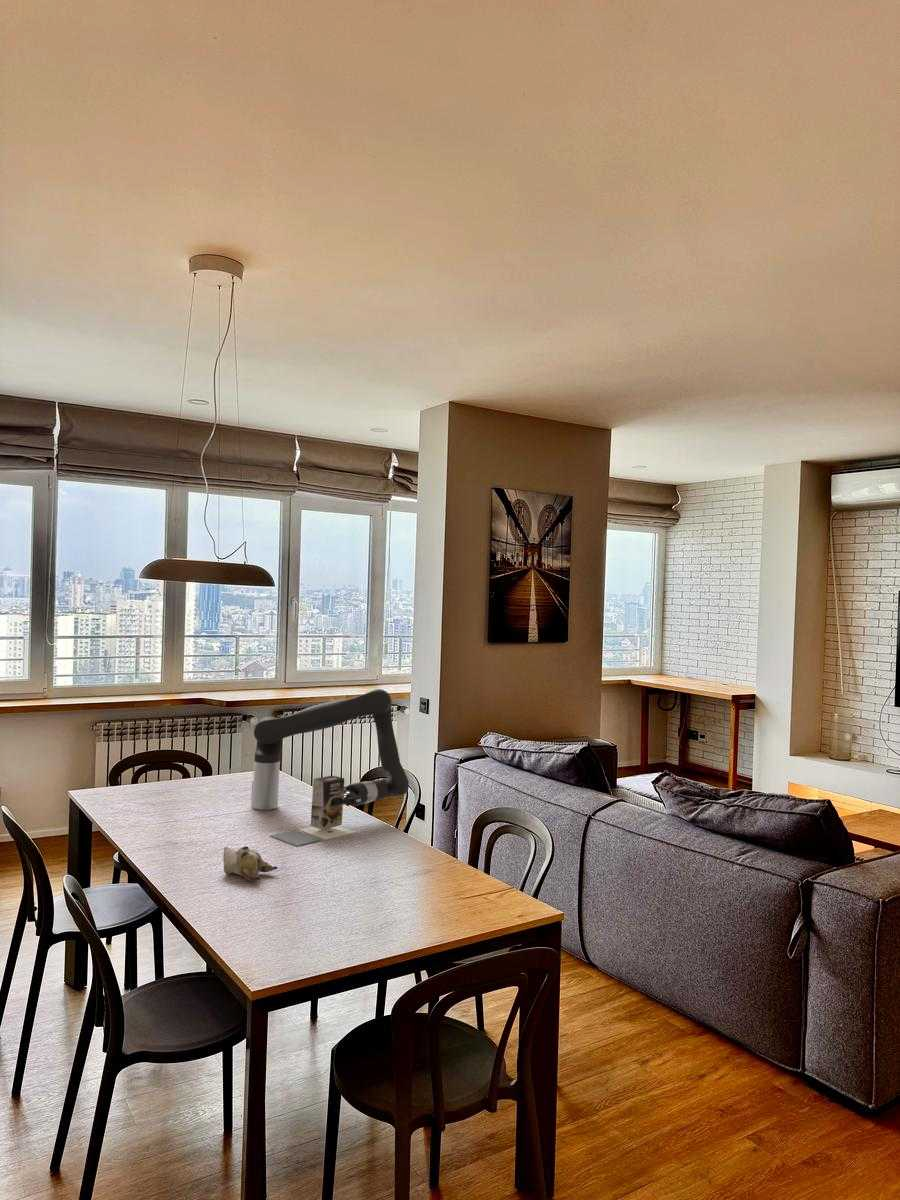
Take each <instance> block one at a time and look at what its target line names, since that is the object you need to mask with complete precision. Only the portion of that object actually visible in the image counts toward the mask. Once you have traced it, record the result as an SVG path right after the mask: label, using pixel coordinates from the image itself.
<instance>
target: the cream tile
mask: <svg viewBox="0 0 900 1200" xmlns="http://www.w3.org/2000/svg"><path fill="white" fill-rule="evenodd" d="M298 831H300V832H302V833H305V834H308V835H311V836H313V837H316V838H319V839H322V840H325V841H326V840H330V839H334V838H338V837H343V836H347V835H351V834H354V833H356V831H355V830H351V829H348V828H345V827H342V826H336V827H332V828H328V829H325V830H321V829H318V828H315V827H312V826H310V827H304V828H300V829H298Z"/></svg>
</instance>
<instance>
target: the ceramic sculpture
mask: <svg viewBox="0 0 900 1200" xmlns="http://www.w3.org/2000/svg"><path fill="white" fill-rule="evenodd" d="M222 858H223V861H222V862H223V871H224V874H225V875H227V876H228V875H233V874H236V875H238V876H240V877H243V878H245V880H247V881H258V880H260V879H261V877H260V875H259V873H260V872H261V873H269V872H272V871H275V870H278V869H279V867H278V866H275V865H274V866H272V865H271V864H269V863H268V862H267V861H265V860H263V859H262V856H261V855H260V853H259V852H257V851H255V850H251V849H249V847H248V846H242V847H240V848H239V849H237V850H236V849H234V848H229V847H227V846H225V847H224V848H223V857H222Z"/></svg>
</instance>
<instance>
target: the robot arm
mask: <svg viewBox="0 0 900 1200" xmlns="http://www.w3.org/2000/svg"><path fill="white" fill-rule="evenodd" d="M370 715H371V716H372V719H373V720H374V724H375V725H374V726H375V728H376V737H377V748H378V754H379V760H380V765H381V768H382V770H383V771H384V772H387V773H389V774H390V776H389V777H386V778H381V779H375V780H369V781H368V780H367V781H360V782H355V783H351V784H348V785H347V786H346V787H345V788H344V794H343V797H341V798H335V799H332V800H331V805H332V806H336V805H343V806H344V805H345V806H346V807H348V806H349V807H350V806H353V807H355V806H360V805H364V804H368V803H371V802H374V801H379V800H383V799H385V798H386V799H387V798H392V797H399V796H404V795H406V794H407V793H408V791H409V789H410V787H409V786H410V783H409V778H408V777H407V774H406V772H405V769H404V767H403V766H402V764H401V759H400V754H399V749H398V745H397V744H398V743H397V741H396V740H397V739H396V736H395V733H394V725H393V719H392V696H391V695H390V694H389V692H387V691H386V690H384V689H381V688H377V689H372V690H371V691H369V692H368V691H367V692H365V693H364V694H360V695H357V696H355V697H350V698H345V699H338V700H333V701H332V700H331V701H327V702H323V703H320V704H315V705H312V706H309V707H307V708H304V709H301V710H300V711H297V712H295V713H293V714H292V713H291V714H289V715H286V716H281V717H275V716H266V717H264V718H262V719H261V720H259V721H258V722H257V723H256V724H255V727H254V728H253V729H254V730H253V736H254V739H255V740H256V748H255V751H254V761H253V762H254V763H253V764H254V765H253V780H252V781H251V797H250V799H251V800H250V806H251V808H252V809H255V810H259V811H271V810H275V809H277V808H278V807H279V787H280V786H279V785H280V769H281V768H280V766H281V754H282V745H283V744H282V743H283V739H285V738H288V737H291V736H295V735H299V734H301V735H302V734H305V733H311V732H316V731H321V730H325V729H329V728H332V727H336V726H338V725H341V724H343V723H346V722H349V721H351V720H353V719H356V718H360V717H365V716H370Z"/></svg>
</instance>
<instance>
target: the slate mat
mask: <svg viewBox="0 0 900 1200" xmlns="http://www.w3.org/2000/svg"><path fill="white" fill-rule="evenodd" d="M270 837H271V838H273V839H276V840H278V841H280V842H284V843H286V844H288V845H291V846H293V847H296V848H297V847H302V846H306V845H310V844H314V843H318V842H322V841H323V839H322V838H319V837H316V836H313V835H310V834H308V833H305V832H302V831H299V830H297V829H292V830H288V831H284V832H279V833H276V834H271V835H270Z"/></svg>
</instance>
